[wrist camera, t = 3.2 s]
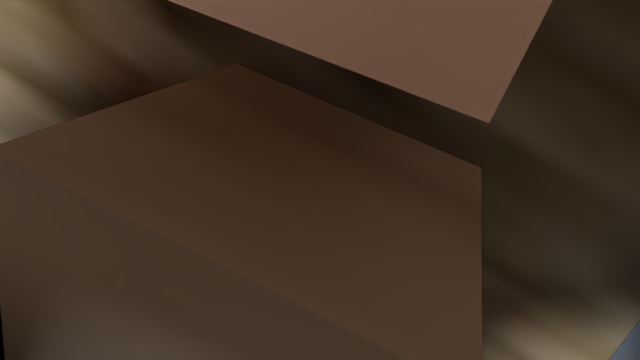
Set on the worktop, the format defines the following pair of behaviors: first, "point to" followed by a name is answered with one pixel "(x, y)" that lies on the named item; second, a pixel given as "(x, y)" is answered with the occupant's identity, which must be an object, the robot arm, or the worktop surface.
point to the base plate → (629, 346)
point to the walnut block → (237, 233)
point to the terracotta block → (402, 41)
